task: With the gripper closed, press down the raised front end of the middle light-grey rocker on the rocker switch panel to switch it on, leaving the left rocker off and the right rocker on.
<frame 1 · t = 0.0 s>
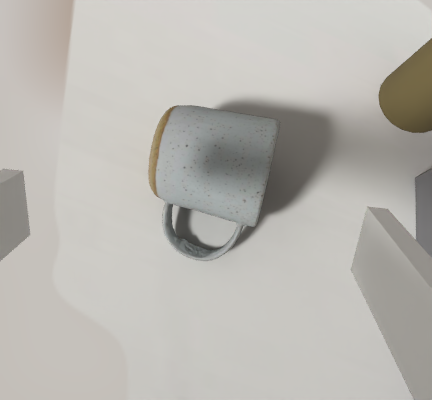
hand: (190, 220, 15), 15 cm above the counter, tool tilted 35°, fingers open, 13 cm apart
ceramic mug: (215, 194, 31), on the counter
cork: (412, 101, 33), on the counter
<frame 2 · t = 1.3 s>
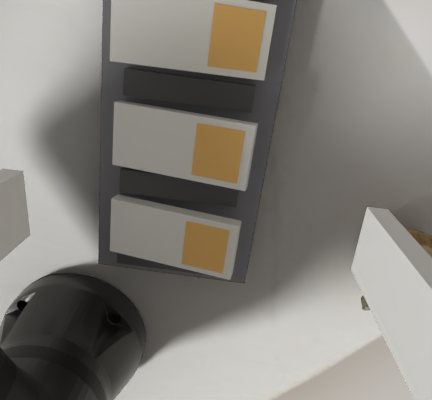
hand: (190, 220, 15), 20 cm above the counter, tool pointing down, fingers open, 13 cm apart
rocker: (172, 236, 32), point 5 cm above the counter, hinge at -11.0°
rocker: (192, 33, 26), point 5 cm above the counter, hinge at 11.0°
rocker switch panel: (188, 132, 34), on the counter
onion: (388, 249, 38), on the counter
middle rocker: (181, 145, 29), point 5 cm above the counter, hinge at -11.0°
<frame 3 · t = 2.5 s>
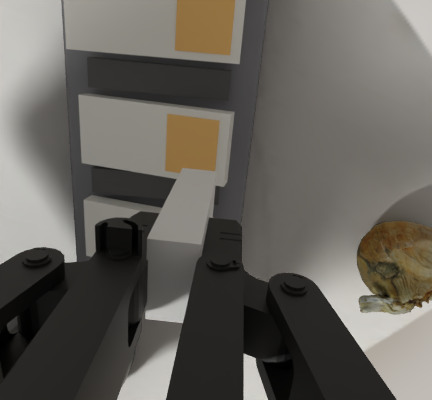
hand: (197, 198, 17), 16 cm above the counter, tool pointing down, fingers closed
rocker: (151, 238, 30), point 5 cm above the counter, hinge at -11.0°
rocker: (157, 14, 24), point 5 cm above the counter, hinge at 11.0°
rocker switch panel: (166, 125, 32), on the counter
onion: (390, 245, 35), on the counter
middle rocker: (153, 138, 27), point 5 cm above the counter, hinge at -11.0°
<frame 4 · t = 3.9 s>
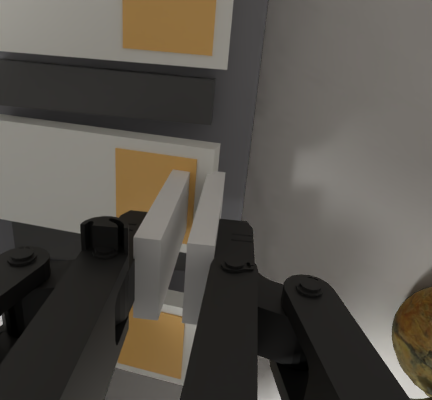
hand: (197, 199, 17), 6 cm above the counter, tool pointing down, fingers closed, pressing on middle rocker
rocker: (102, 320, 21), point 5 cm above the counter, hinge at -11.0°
rocker switch panel: (126, 155, 22), on the counter
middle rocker: (97, 183, 18), point 5 cm above the counter, hinge at -9.3°, touching gripper
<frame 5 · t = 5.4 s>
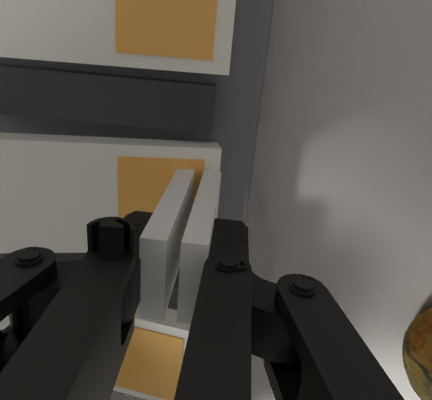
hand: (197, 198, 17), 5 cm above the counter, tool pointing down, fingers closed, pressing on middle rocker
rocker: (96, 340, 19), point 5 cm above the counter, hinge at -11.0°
rocker switch panel: (122, 163, 21), on the counter
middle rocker: (91, 196, 17), point 5 cm above the counter, hinge at 12.4°, touching gripper
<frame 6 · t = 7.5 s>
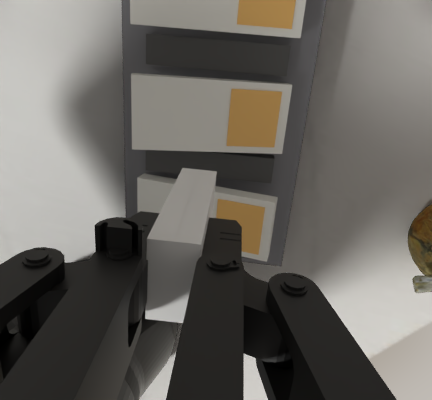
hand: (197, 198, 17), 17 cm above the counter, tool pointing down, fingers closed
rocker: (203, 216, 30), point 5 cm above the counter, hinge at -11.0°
rocker switch panel: (217, 104, 32), on the counter
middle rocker: (210, 115, 27), point 5 cm above the counter, hinge at 14.4°
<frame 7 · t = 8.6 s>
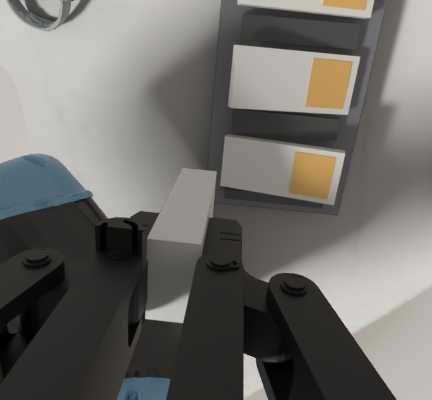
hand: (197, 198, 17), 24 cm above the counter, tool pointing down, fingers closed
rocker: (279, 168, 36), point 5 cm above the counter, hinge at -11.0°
rocker switch panel: (287, 77, 38), on the counter
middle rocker: (293, 81, 33), point 5 cm above the counter, hinge at 14.5°
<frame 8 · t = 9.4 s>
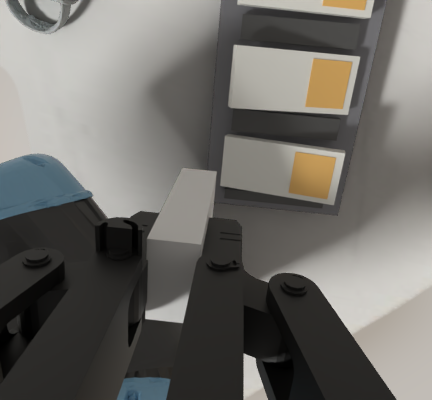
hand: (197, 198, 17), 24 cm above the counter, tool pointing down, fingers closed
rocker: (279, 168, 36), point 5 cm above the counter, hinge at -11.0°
rocker switch panel: (287, 77, 38), on the counter
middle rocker: (293, 81, 33), point 5 cm above the counter, hinge at 14.6°
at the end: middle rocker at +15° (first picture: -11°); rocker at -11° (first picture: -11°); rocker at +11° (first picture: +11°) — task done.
